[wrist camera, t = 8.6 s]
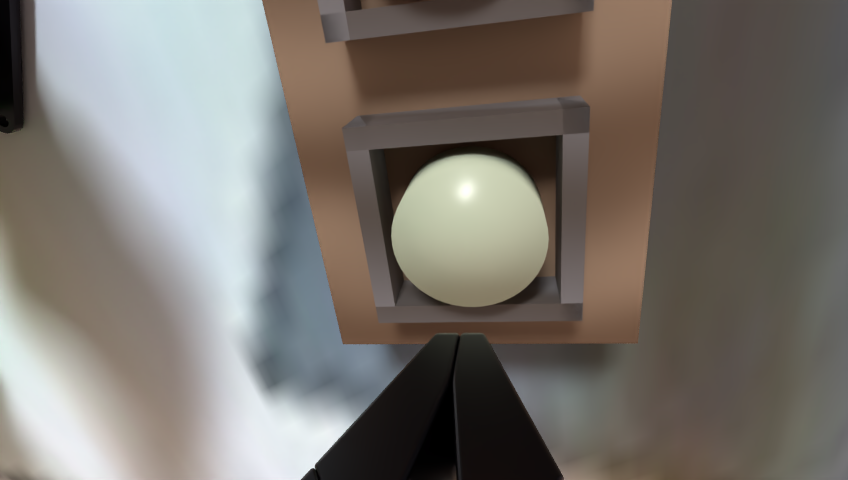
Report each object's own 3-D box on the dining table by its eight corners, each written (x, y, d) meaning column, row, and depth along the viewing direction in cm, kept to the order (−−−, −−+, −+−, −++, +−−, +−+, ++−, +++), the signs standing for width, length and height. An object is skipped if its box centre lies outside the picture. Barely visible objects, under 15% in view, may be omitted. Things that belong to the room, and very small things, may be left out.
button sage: (542, 271, 14) (548, 305, 13) (412, 275, 15) (402, 308, 13) (541, 140, 12) (548, 160, 11) (394, 151, 13) (380, 172, 12)
